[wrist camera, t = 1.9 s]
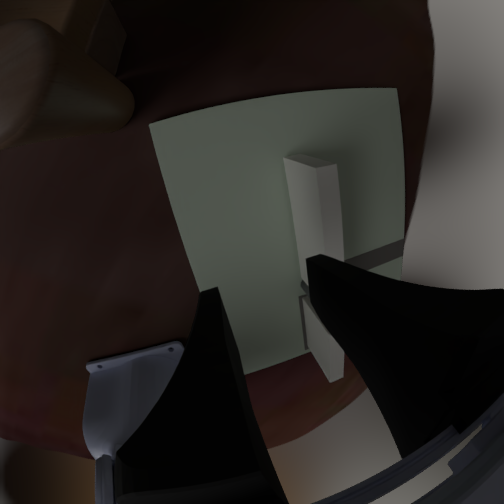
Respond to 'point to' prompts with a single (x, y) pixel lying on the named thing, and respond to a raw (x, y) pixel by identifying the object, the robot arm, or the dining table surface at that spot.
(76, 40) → the wooden toy
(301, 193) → the fence panel
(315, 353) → the base
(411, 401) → the robot arm
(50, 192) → the dining table surface
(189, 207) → the board
